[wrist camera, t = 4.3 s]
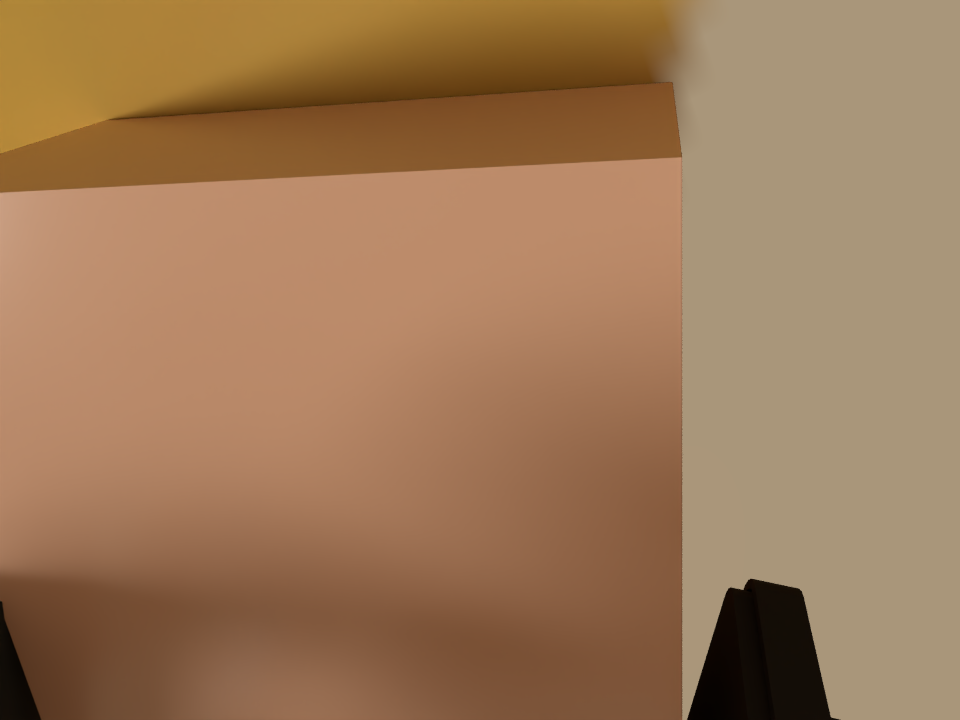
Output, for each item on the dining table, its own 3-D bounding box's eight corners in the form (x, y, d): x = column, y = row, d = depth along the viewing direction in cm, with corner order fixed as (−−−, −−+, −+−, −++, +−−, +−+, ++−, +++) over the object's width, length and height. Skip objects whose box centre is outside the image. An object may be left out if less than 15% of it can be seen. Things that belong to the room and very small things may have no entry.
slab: (675, 923, 14) (682, 1219, 10) (292, 883, 15) (193, 1137, 12) (672, 82, 9) (680, 156, 6) (106, 120, 10) (-148, 200, 7)
